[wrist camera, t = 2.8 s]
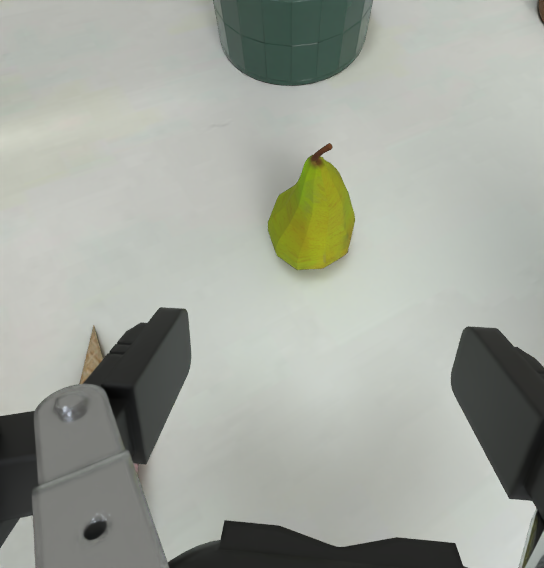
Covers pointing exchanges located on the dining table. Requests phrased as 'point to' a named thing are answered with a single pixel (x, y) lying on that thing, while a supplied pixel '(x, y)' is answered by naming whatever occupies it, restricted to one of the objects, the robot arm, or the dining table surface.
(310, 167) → the fruit
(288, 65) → the pot
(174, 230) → the dining table surface
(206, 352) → the dining table surface
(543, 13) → the plant
